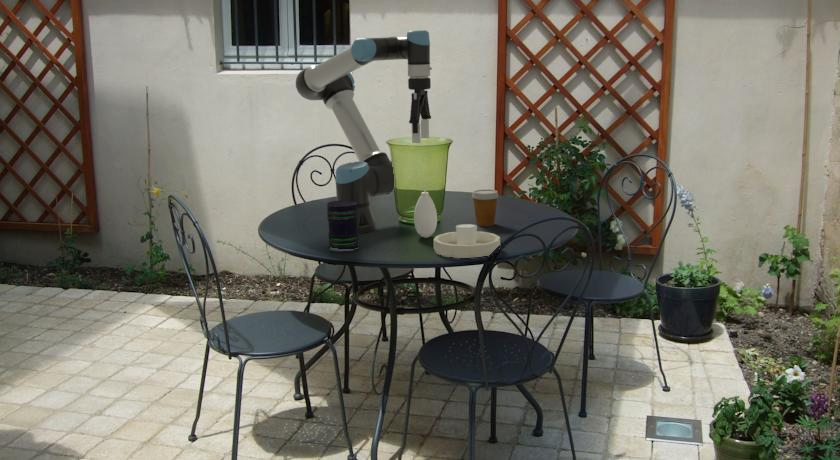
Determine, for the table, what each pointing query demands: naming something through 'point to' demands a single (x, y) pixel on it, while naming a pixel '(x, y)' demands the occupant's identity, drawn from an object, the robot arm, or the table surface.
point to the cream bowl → (450, 248)
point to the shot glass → (466, 234)
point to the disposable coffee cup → (485, 206)
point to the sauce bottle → (425, 215)
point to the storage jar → (343, 224)
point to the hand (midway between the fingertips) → (420, 140)
